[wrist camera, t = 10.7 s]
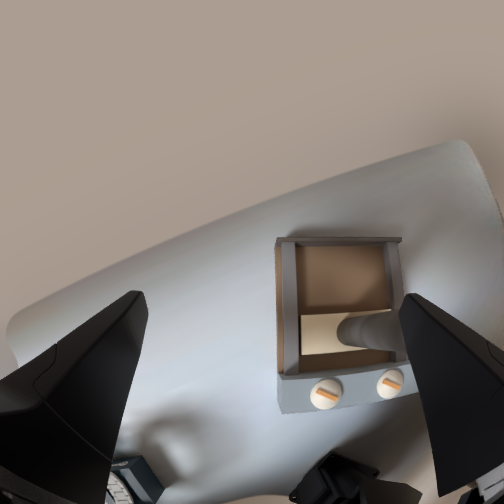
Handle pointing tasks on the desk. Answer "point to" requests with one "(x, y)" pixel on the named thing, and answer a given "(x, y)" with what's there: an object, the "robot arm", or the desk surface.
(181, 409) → the desk surface
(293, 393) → the gauge cabinet
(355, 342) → the grey cylinder
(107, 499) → the watch
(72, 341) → the robot arm
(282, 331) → the open grey box
